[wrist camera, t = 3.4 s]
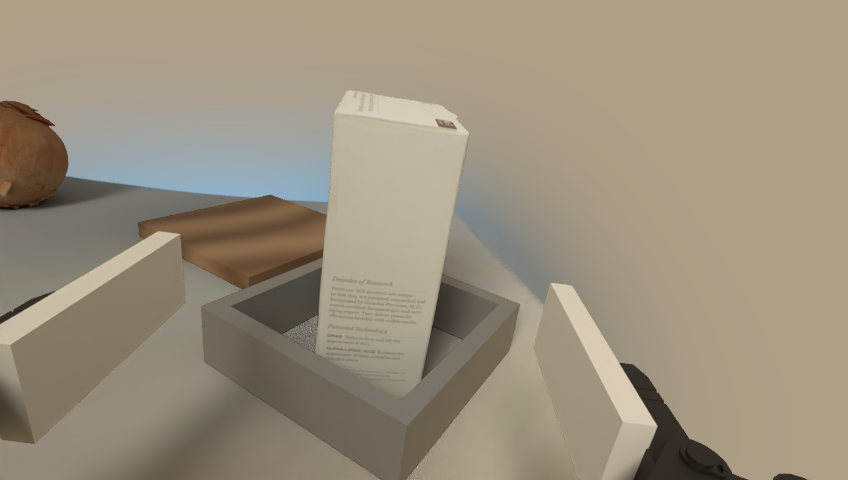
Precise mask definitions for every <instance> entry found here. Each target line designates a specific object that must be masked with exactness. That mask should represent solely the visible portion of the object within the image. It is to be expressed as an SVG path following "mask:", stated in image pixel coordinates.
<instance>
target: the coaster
mask: <svg viewBox="0 0 848 480" xmlns="http://www.w3.org/2000/svg"><path fill="white" fill-rule="evenodd" d="M326 219H327V215H325V214H322V213H319V212H317V211H314V210H311V209H308V208H306V207H303V206H300V205H297V204H294V203H292V202H289V201H286V200H283V199H281V198H278V197H275V196H272V195H268V196H263V197H258V198H253V199H248V200H243V201H238V202H234V203H229V204H224V205H219V206H214V207H210V208H205V209H200V210H195V211H190V212H186V213H181V214H176V215H171V216H166V217H162V218H157V219H152V220H147V221H142V222H138V227H139V236H141V237H143V238H145V239H146V238H148V237H149V236H151V235H153V234H154V233H156V232H158V231H161V232H169V233H176V234H180V235H181V249H182V258H184V259H186V260H188V261H190V262H191V263H193V264H195V265H197V266H199V267H201V268H203V269H205V270H207V271H209V272H211V273H213V274H215V275H217V276H218V277H220V278H222V279H224V280H226V281H228V282H230V283H232V284H234V285H236V286H238V287H240V288H242V289H246V288H248V287H251V286H253V285H256V284H258V283H261V282H263V281H266V280H268V279H271V278H273V277H276V276H278V275H281V274H283V273H286V272H288V271H291V270H293V269H296V268H298V267H301V266H303V265H306V264H308V263H311V262H313V261H316V260H318V259H321V258H323V251H324V239H325V227H326Z"/></svg>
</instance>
